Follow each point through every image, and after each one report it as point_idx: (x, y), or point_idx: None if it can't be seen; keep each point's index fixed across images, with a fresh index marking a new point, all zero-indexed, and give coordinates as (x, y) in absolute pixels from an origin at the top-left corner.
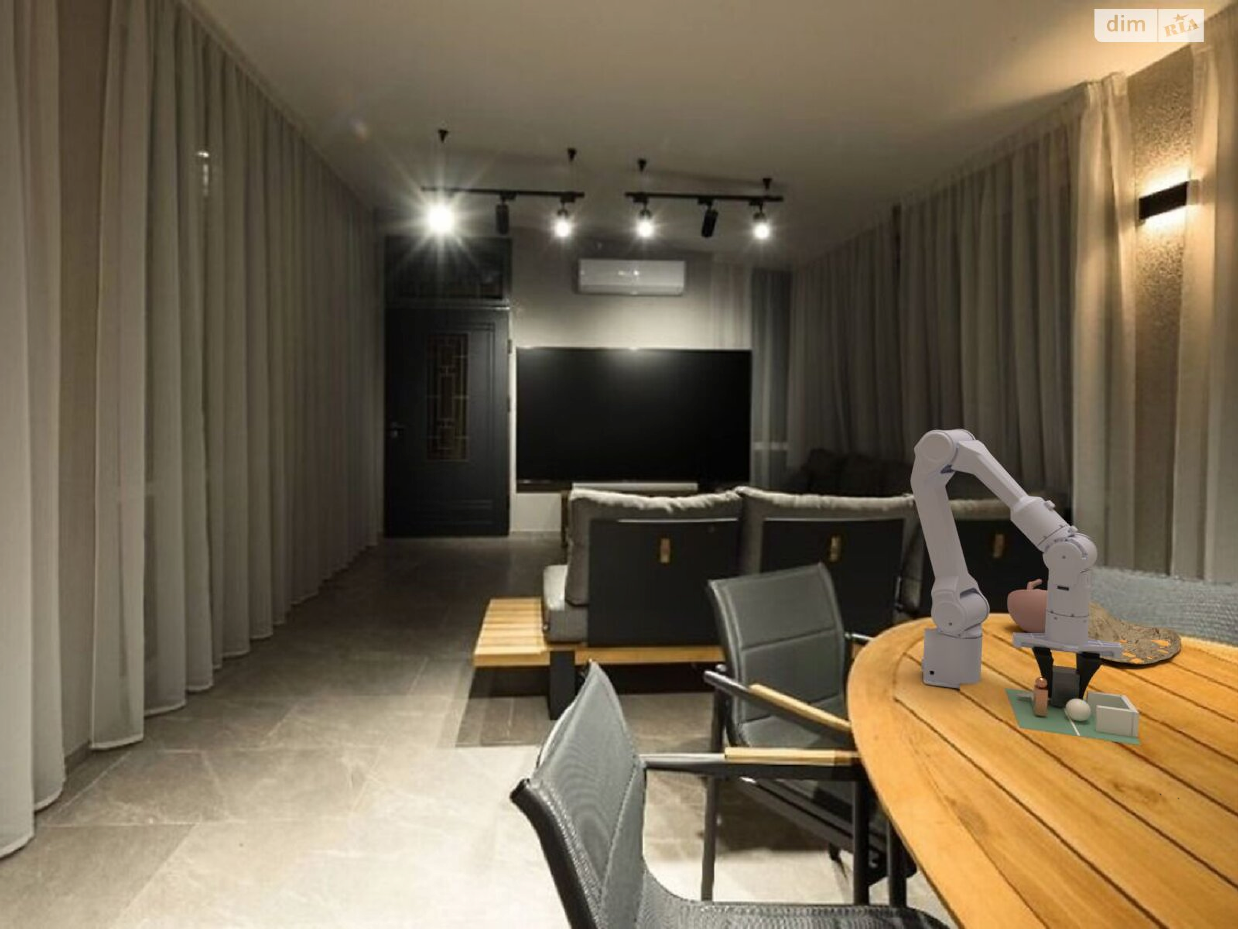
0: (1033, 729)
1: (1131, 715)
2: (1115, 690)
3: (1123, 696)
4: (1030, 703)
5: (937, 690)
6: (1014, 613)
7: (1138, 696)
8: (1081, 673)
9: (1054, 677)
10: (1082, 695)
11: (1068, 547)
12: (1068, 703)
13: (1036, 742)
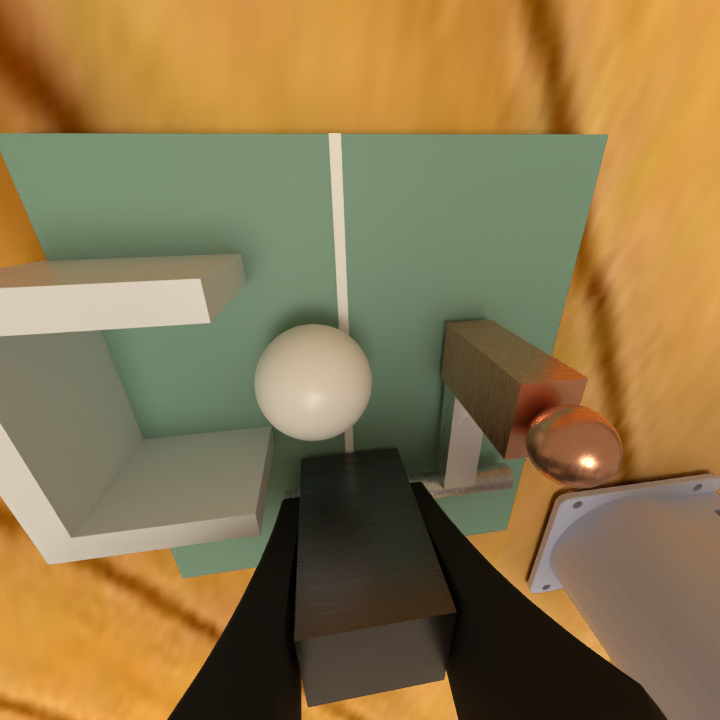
0: (548, 134)
1: None
2: (178, 661)
3: (55, 547)
4: None
5: (691, 450)
6: None
7: (114, 656)
8: (283, 658)
9: (433, 573)
10: (281, 519)
11: None
12: (366, 388)
13: (534, 54)
